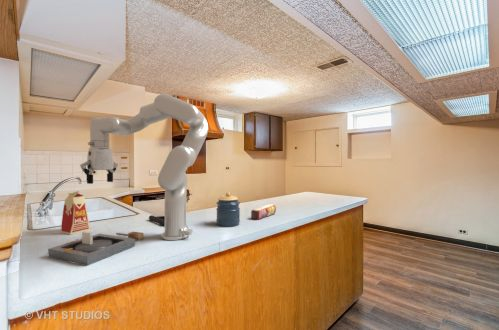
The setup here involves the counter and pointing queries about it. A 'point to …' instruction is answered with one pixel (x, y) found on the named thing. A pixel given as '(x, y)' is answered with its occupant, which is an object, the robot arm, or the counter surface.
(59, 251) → the tray
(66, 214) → the milk carton
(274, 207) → the snack package
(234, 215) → the canister
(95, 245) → the dial
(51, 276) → the counter surface
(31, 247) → the counter surface
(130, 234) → the screwdriver
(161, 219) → the door handle
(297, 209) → the counter surface
